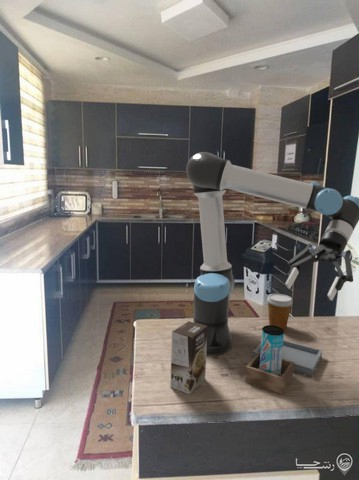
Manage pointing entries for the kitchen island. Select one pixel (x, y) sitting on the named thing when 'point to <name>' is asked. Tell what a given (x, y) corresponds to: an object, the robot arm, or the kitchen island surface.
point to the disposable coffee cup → (279, 309)
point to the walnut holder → (269, 375)
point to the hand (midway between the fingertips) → (307, 291)
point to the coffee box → (188, 356)
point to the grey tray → (299, 357)
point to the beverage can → (271, 349)
